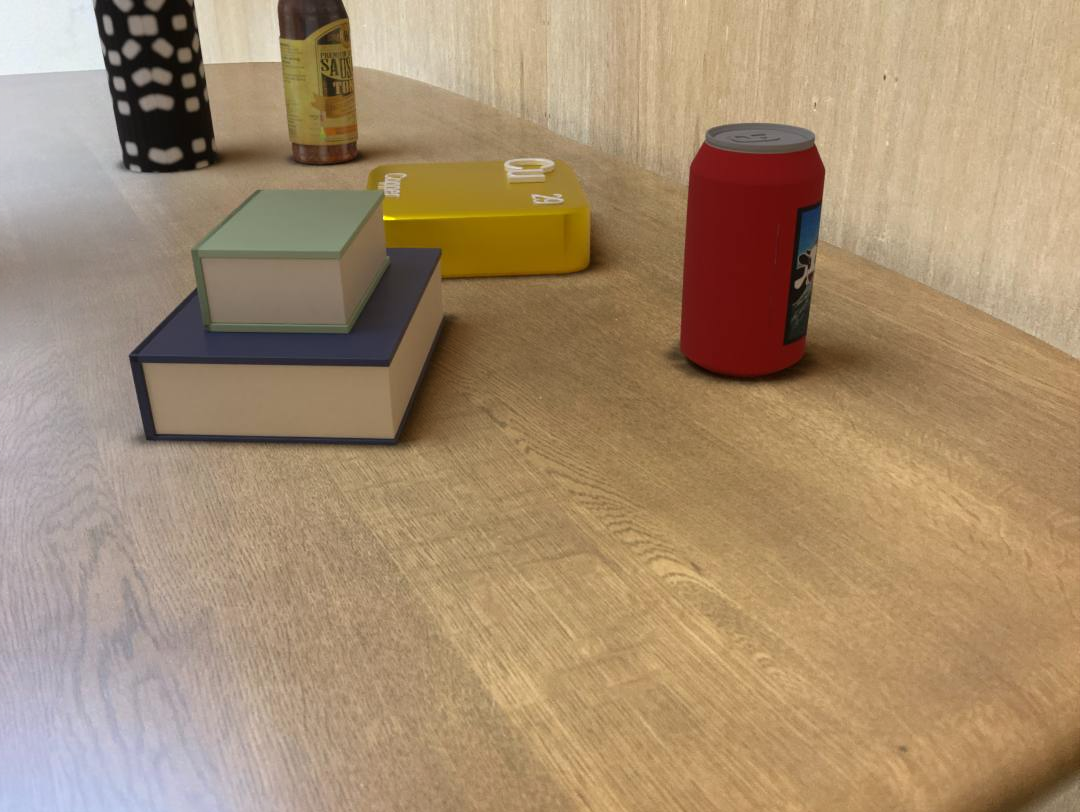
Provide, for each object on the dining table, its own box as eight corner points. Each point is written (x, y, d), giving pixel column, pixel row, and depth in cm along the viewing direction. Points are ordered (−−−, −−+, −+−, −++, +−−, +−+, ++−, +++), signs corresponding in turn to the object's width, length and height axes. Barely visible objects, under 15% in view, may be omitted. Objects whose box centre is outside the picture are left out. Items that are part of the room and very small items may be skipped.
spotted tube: (167, 179, 100) (122, -81, 90) (105, 167, 104) (54, -83, 93) (237, 160, 106) (202, -86, 95) (175, 150, 110) (135, -87, 99)
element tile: (374, 221, 87) (368, 157, 85) (568, 215, 88) (568, 151, 86) (365, 284, 74) (359, 210, 72) (593, 275, 76) (595, 202, 73)
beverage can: (826, 377, 60) (856, 142, 54) (708, 392, 59) (725, 152, 53) (768, 333, 66) (790, 116, 60) (659, 347, 64) (670, 124, 58)
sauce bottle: (340, 169, 102) (316, -83, 92) (279, 165, 104) (248, -83, 94) (373, 154, 107) (353, -87, 97) (313, 150, 109) (288, -87, 99)
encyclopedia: (146, 443, 54) (127, 354, 52) (248, 319, 69) (237, 245, 67) (396, 449, 54) (388, 359, 51) (446, 322, 68) (441, 247, 66)
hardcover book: (266, 261, 64) (256, 189, 62) (390, 263, 63) (384, 190, 61) (204, 331, 54) (190, 249, 52) (348, 333, 54) (340, 250, 52)
